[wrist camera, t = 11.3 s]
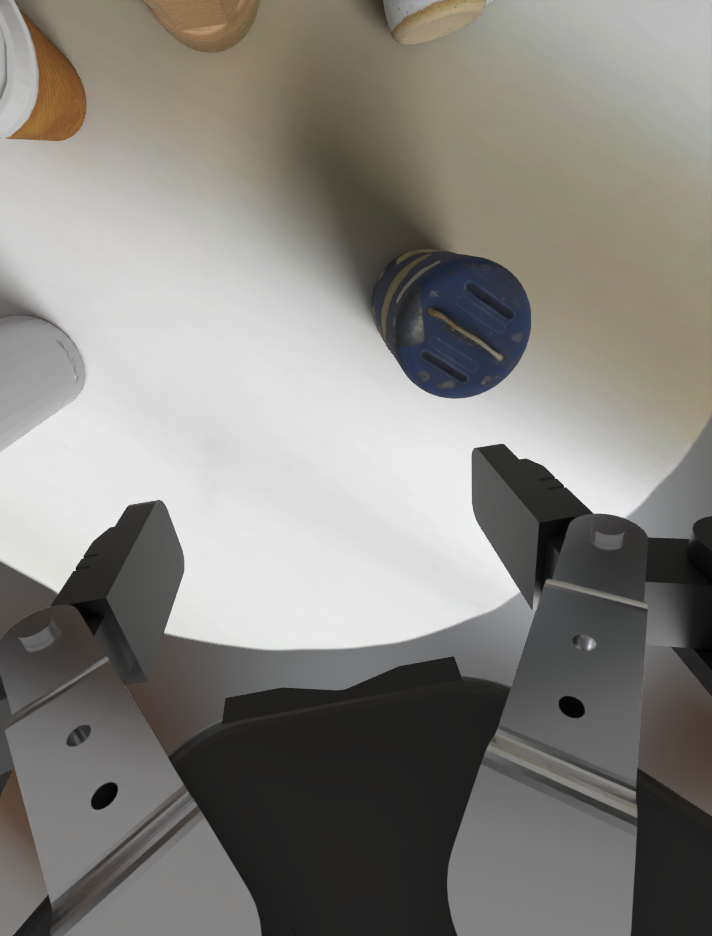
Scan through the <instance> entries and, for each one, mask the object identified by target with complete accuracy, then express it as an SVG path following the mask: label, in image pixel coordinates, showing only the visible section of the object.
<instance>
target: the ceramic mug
mask: <svg viewBox="0 0 712 936" xmlns="http://www.w3.org/2000/svg"><path fill="white" fill-rule="evenodd" d="M492 1H493V0H383V3H384V9H385V14H386V18H387V22H388V25H389V29H390V32H391V34H392V37H393V38H394V39H395V40H396V41H397V42H399V43H400V44H402V45H414V44H419V43H424V42H428V41H432V40H435V39H438V38H441V37H443V36H446V35H449V34H451V33H453V32H456V31H458V30H460V29H462V28H464V27H466V26H467V25H469V24H471V23H472V22H473V21H475V20H476V19H477V18H478V17H479V16H480V15H481V13H482V11H483V9H484V7H485V5H487V4H488V3H490V2H492Z"/></svg>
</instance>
